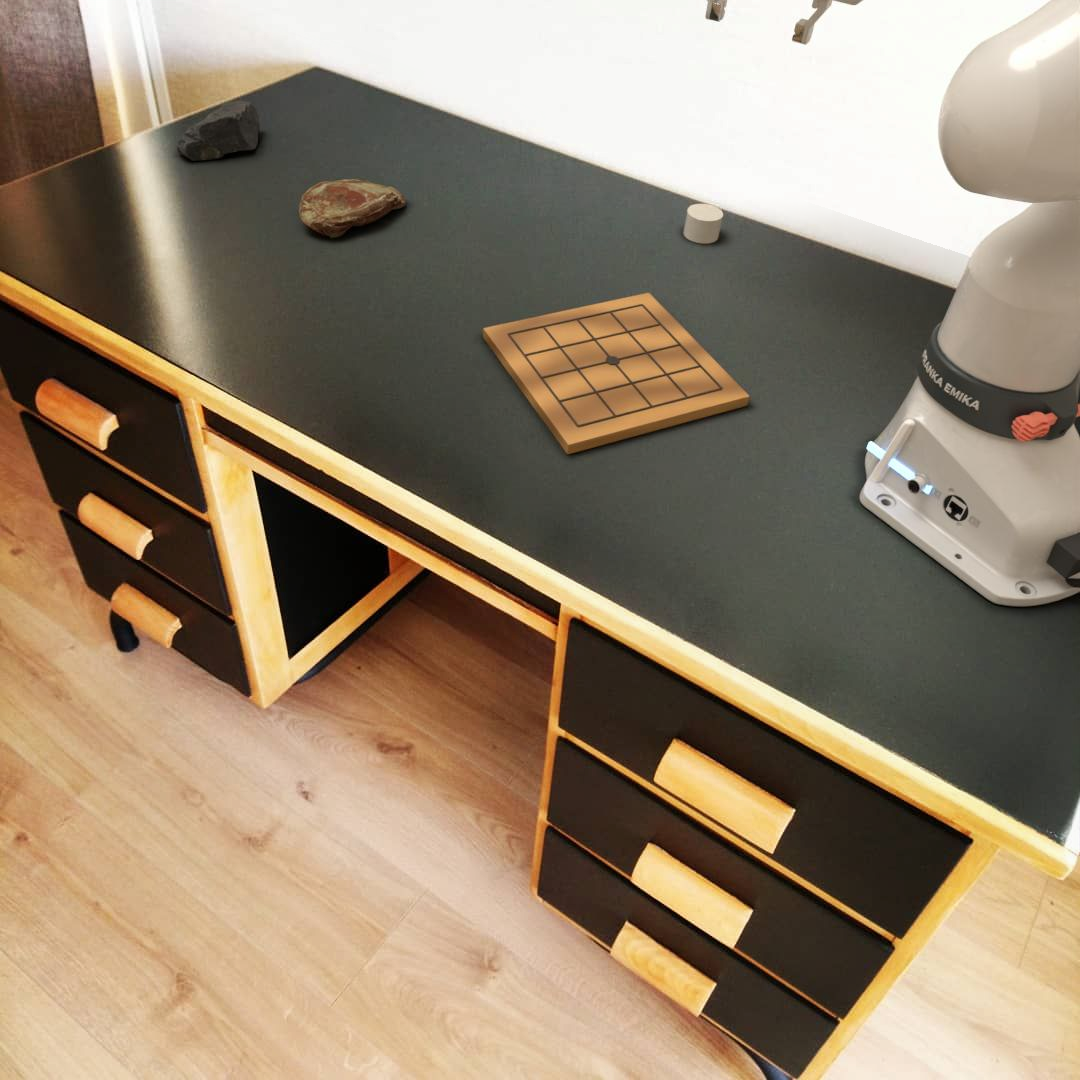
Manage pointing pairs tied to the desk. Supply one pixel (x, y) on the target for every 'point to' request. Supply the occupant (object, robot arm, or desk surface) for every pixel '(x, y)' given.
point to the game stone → (703, 223)
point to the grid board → (612, 371)
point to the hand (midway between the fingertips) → (756, 30)
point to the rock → (222, 132)
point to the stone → (346, 205)
